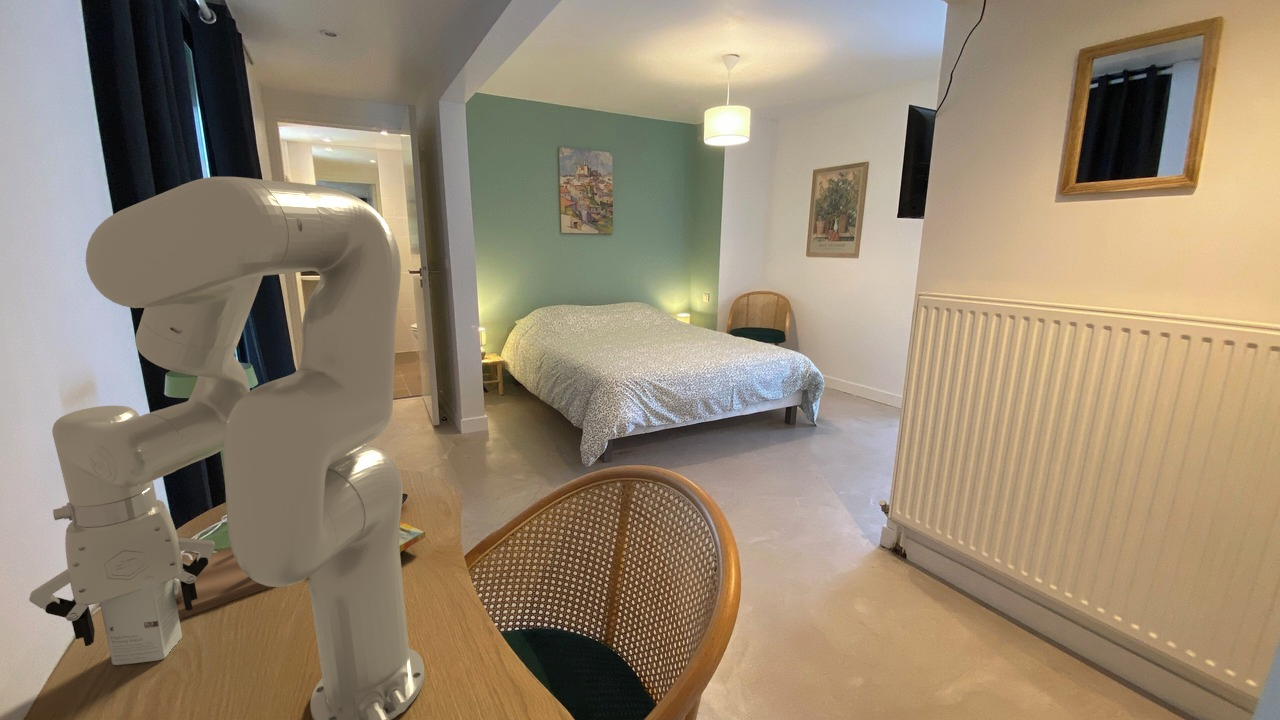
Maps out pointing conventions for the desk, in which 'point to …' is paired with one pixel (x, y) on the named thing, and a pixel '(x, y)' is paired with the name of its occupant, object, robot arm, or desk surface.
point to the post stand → (217, 584)
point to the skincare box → (142, 623)
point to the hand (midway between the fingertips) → (141, 621)
